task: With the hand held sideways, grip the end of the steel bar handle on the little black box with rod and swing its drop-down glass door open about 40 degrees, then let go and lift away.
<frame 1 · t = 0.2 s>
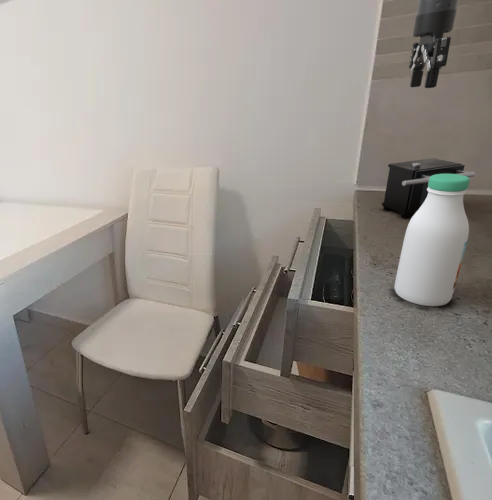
hand: (422, 87, 91), 29 cm above the countertop, tool pointing down, fingers open, 8 cm apart
oven door: (430, 192, 85), point 7 cm above the countertop, hinge at 0.0°
milk bottle: (421, 295, 61), on the countertop
black box with rod: (414, 210, 94), on the countertop
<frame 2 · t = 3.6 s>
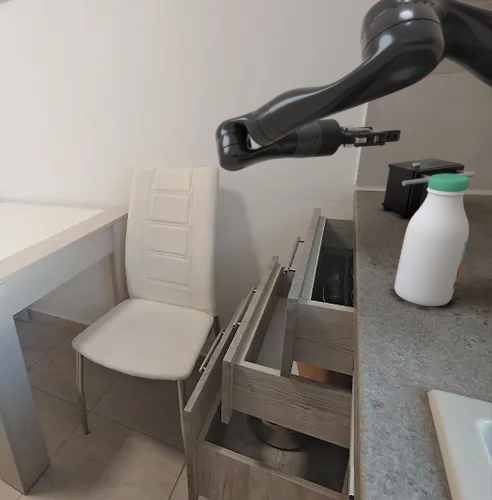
hand: (384, 133, 78), 22 cm above the countertop, tool horizontal, fingers open, 8 cm apart
nothing on the countertop moved.
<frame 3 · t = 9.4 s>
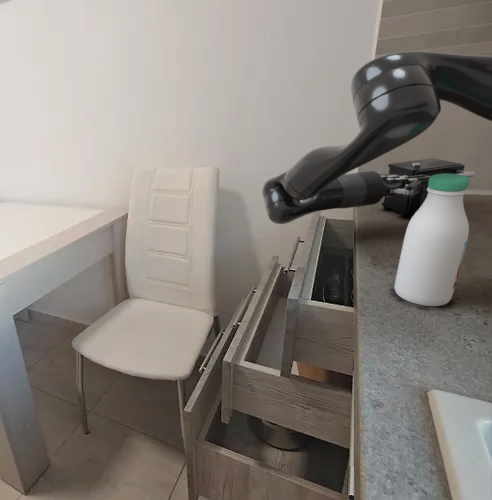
hand: (426, 180, 82), 11 cm above the countertop, tool horizontal, fingers closed
oven door: (430, 192, 85), point 7 cm above the countertop, hinge at 0.1°, touching gripper
everything else where it was.
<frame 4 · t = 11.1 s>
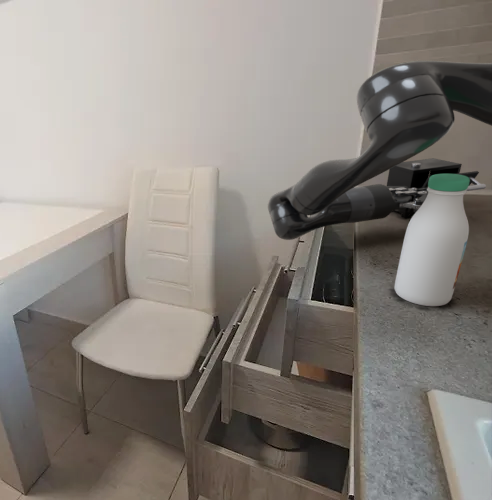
hand: (436, 192, 80), 9 cm above the countertop, tool horizontal, fingers closed
oven door: (436, 199, 84), point 6 cm above the countertop, hinge at 22.7°, touching gripper
everything else where it was.
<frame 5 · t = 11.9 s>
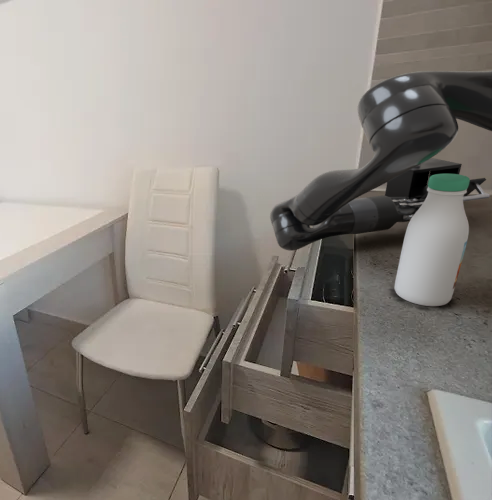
hand: (440, 204, 80), 6 cm above the countertop, tool horizontal, fingers closed
oven door: (438, 204, 84), point 5 cm above the countertop, hinge at 36.3°
everything else where it was.
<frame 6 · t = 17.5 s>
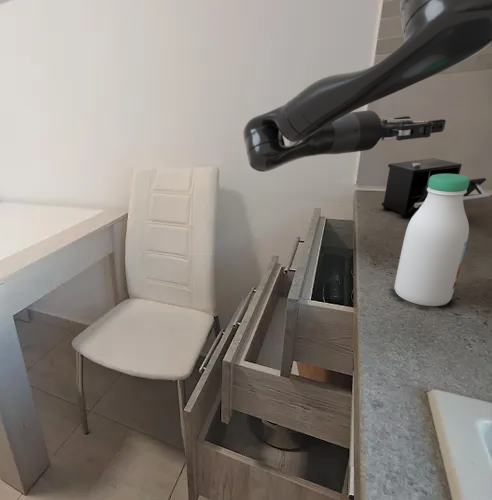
hand: (424, 123, 72), 24 cm above the countertop, tool horizontal, fingers open, 8 cm apart
nothing on the countertop moved.
at the end: oven door at +36° (first picture: +0°); the gripper is holding nothing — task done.
